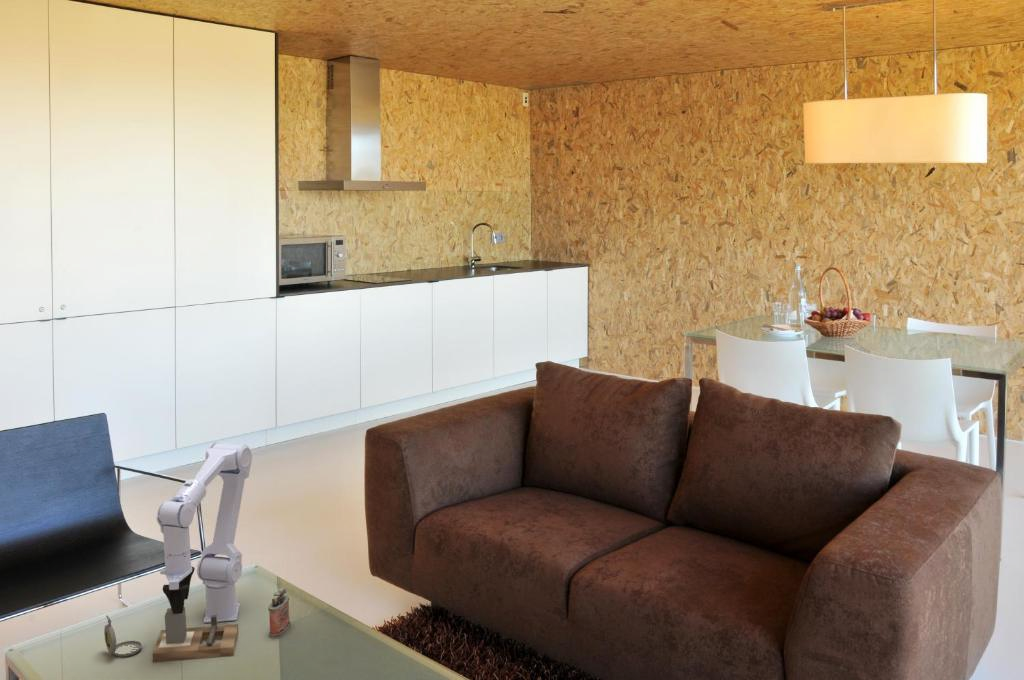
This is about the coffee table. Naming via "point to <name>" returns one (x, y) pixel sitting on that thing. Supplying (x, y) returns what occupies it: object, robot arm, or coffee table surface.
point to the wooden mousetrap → (198, 643)
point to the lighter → (279, 614)
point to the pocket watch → (112, 646)
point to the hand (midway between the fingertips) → (180, 605)
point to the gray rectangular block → (175, 627)
